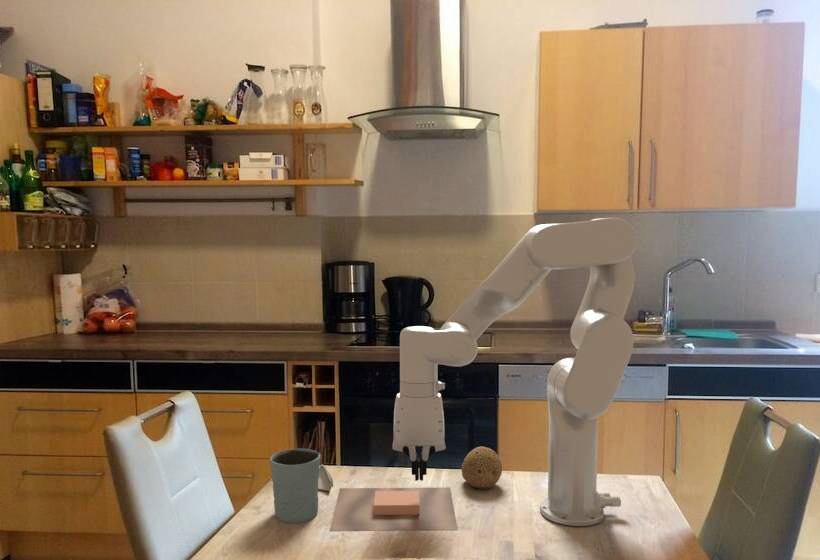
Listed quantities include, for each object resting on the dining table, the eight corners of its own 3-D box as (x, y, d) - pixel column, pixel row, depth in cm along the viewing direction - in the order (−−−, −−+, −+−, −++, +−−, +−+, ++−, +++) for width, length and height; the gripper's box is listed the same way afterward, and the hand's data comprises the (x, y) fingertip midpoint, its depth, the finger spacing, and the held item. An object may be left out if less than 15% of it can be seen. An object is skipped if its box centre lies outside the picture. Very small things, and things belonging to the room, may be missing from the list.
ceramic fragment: (337, 496, 140) (336, 478, 140) (313, 499, 138) (313, 481, 138) (325, 474, 153) (324, 458, 153) (303, 477, 151) (303, 461, 151)
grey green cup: (278, 528, 124) (277, 468, 123) (265, 509, 133) (264, 452, 132) (328, 518, 128) (327, 459, 127) (312, 499, 137) (311, 444, 136)
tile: (418, 490, 133) (375, 491, 133) (419, 505, 126) (373, 505, 126) (418, 500, 133) (375, 500, 133) (419, 514, 126) (373, 515, 126)
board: (450, 494, 140) (450, 487, 140) (457, 537, 120) (457, 529, 120) (340, 494, 139) (339, 488, 139) (329, 538, 119) (329, 530, 119)
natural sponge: (502, 501, 136) (502, 455, 135) (460, 499, 137) (460, 454, 136) (501, 484, 145) (501, 441, 144) (461, 483, 146) (461, 440, 145)
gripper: (454, 383, 132) (454, 471, 133) (382, 384, 131) (382, 471, 133) (457, 393, 124) (457, 485, 125) (380, 393, 124) (381, 485, 125)
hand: (419, 477), depth 129 cm, fingers closed
